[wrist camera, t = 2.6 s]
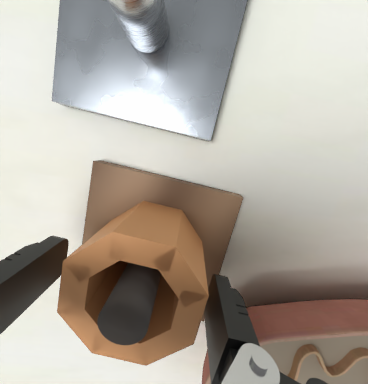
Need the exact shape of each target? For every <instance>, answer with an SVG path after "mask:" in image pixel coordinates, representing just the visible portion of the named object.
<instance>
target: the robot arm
mask: <svg viewBox="0 0 368 384" xmlns="http://www.w3.org/2000/svg"><path fill="white" fill-rule="evenodd" d="M67 251H68V240H67V239H65V238H60V237H56V236H50V237H48V238H47V239H45V240H43V241H42V242H40V243H35V244H32V245H28V246H25V247H23V248H22V249H20V250H18V251H17V252H15V253H14V254H11V255H10V256H8V257H6V258H5V260H4V259H3V260H1V261H0V334H1V333H2V332H3V331H4V330H5V329H6V328H7V327H8V326H9V325H10V324H12V323H13V322H14V321H15V320H16V319H17V318H18V317H19V316H20V315H21V314H22V313H23V312H24V311H25V310H26V309H27V308H28V307H29V306H30V305H31V304H32V303H33V302H34V301H35V300H36V299H37V298H38V297H39V296H40V295H41V294H42V293H43V292H44V291H45V290H46V289H48V288H49V287H50V286H51V285H52V284H53V283H54V282H55V281H56V280H57V279H58V278H59V277H60V276H61V274H62V265H63V261H64V260H65V259H66V258H67ZM208 294H209V297H208V300H207V303H206V306H205V309H204V315H205V326H206V337H207V348H208V358H209V369H210V380H211V384H301V383H299V382H297V381H295V380H293V379H292V378H290V377H288V376H286V375H285V374H283V373H281V372H280V371H279V369H278V367H277V365H276V363H275V361H274V360H273V358H272V357H271V356H270V355H269V354H268V353H267V352H266V351H265V350H264V349H263V348H261V347H260V344H259V342H258V339H257V336H256V333H255V331H254V328H253V325H252V322H251V320H250V317H249V316H248V315H249V314H248V311H247V309H246V306H245V303H244V300H243V298H242V296H241V295H240V294H239V292H238V291H237V290H236V289H233V288H231V286H230V283H229V280H228V277H225V276H221V275H217V274H213V276H212V278H211V281H210V284H209V288H208ZM306 384H328V383H326V382H325V381H323V380H321V379H318V378H310V379H308V380H307V382H306Z"/></svg>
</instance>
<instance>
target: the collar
mask: <svg viewBox="0 0 368 384" xmlns="http://www.w3.org/2000/svg"><path fill="white" fill-rule="evenodd" d="M128 263H133V264H137V265H141V266H145V267H149V268H154V269H158V270H159V271H160V273H161V278H160V282H159V286H158V290H157V294H156V298H155V302H154V306H153V310H152V314H151V319H150V323H149V327H148V331H147V333H146V335H145V337H144V338H143V339H142V340H141V341H139V342H138V343H135V344H132V345H118V344H115V343H113V342H111V341H109V340H107V339H106V338H105V337H104V336H103V335H102V334H101V332H100V330H99V328H98V324H97V320H98V315H99V313H100V312H101V310H102V308H103V306H104V305H105V303H106V301H107V299H108V298H109V296H110V294H111V292H112V291H113V289H114V287H115V285H116V284H117V282H118V280H119V278H120V277H121V275H122V273H123V271H124V270H125V268H126V266H127V264H128ZM208 297H209V294H208V286H207V277H206V269H205V261H204V253H203V245H202V241H201V239H200V238H199V236H198V234H197V233H196V231H195V230H194V228H193V227H192V225H191V223H190V222H189V220H188V219H187V217H186V216H185V214H184V212H183V211H182V210H180V209H175V208H171V207H167V206H163V205H159V204H155V203H151V202H147V201H142V202H141V203H139V204H137V205H136V206H134V207H132V208H131V209H129V210H127V211H126V212H124V213H122V214H121V215H119V216H117V217H116V218H114V219H113V220H111V221H110V222H109V223H108V224H106V225H105V226H104V227H103V228H102V229H100V230H99V231H98V232H97V233H96V234H95V235H93V236H92V237H91V238H90V239H89V240H87V241H86V242H85V243H84V244H83V245H81V246H80V247H79V248H78V249H77V250H76V251H74V252H73V253H72V254H71V255H70V256H68V257H67V258H66V259H65V260H64V261H63V265H62V274H61V283H60V291H59V300H58V309H57V312H58V314H59V315H60V316H61V317H62V318H63V319H64V321H65V322H66V323H67V324H68V325H69V327H70V328H71V329H72V330H73V331H74V332H75V334H76V335H77V336H78V337H79V338H80V339H81V341H82V342H83V343H84V344H85V345H86V347H87V348H88V349H89V350H90V351H91V352H92V353H94V354H98V355H103V356H107V357H111V358H116V359H120V360H124V361H129V362H133V363H137V364H142V365H148V364H151V363H153V362H155V361H157V360H159V359H162V358H164V357H166V356H168V355H170V354H173V353H175V352H177V351H179V350H181V349H184V348H186V347H188V346H190V345H192V344H194V341H195V338H196V335H197V332H198V328H199V325H200V322H201V319H202V316H203V313H204V309H205V306H206V303H207V300H208Z"/></svg>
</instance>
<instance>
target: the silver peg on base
mask: <svg viewBox="0 0 368 384" xmlns="http://www.w3.org/2000/svg"><path fill="white" fill-rule="evenodd" d="M246 4H247V0H60V7H59V19H58V31H57V43H56V56H55V68H54V80H53V92H52V101H53V102H56V103H59V104H61V105H65V106H69V107H73V108H77V109H81V110H85V111H89V112H93V113H97V114H101V115H105V116H109V117H113V118H117V119H121V120H125V121H129V122H133V123H137V124H141V125H145V126H150V127H154V128H158V129H162V130H166V131H170V132H174V133H178V134H182V135H186V136H190V137H194V138H198V139H202V140H206V141H211V138H212V134H213V130H214V126H215V122H216V119H217V115H218V111H219V107H220V103H221V99H222V96H223V92H224V88H225V84H226V80H227V77H228V73H229V69H230V65H231V61H232V58H233V54H234V50H235V46H236V42H237V38H238V35H239V31H240V27H241V23H242V19H243V16H244V12H245V8H246Z"/></svg>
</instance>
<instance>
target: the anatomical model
mask: <svg viewBox="0 0 368 384" xmlns="http://www.w3.org/2000/svg"><path fill="white" fill-rule="evenodd" d="M246 309H247V311H248V314H249V315H248V316H249V317H250V320H251V322H252V325H253V328H254V331H255V333H256V336H257V339H258V342H259V344H260V347H261V348H263V349H264V350H265V351H266V352H267V353H268V354H269V355H270V356H271V357H272V358H273V360H274V361H275V363H276V365H277V367H278V369H279V371H280V372H281V373H283V374H285V375H286V376H288V377H290V378H292V379H293V380H295V381H297V382H299V383H301V384H306V382H307V380H308V379H310V378H318V379H321V380H323V381H325V382H326V383H328V384H368V300H362V299H337V300H313V301H300V302H290V303H280V304H271V305H261V306H251V307H248V308H246ZM202 384H211V380H210V369H209V358H208V349H207V353H206V357H205V361H204V366H203V375H202Z"/></svg>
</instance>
